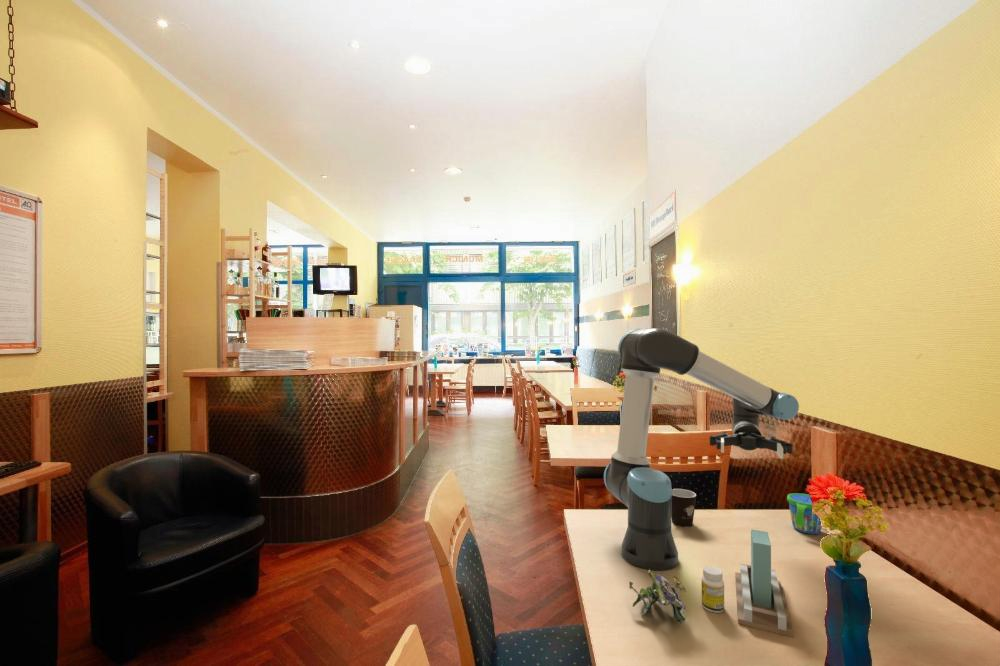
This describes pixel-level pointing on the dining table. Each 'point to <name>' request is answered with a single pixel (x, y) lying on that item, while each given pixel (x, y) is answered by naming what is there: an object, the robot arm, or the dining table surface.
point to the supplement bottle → (712, 589)
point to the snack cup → (803, 514)
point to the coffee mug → (683, 507)
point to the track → (759, 615)
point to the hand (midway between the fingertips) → (751, 450)
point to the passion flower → (662, 595)
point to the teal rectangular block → (761, 568)
